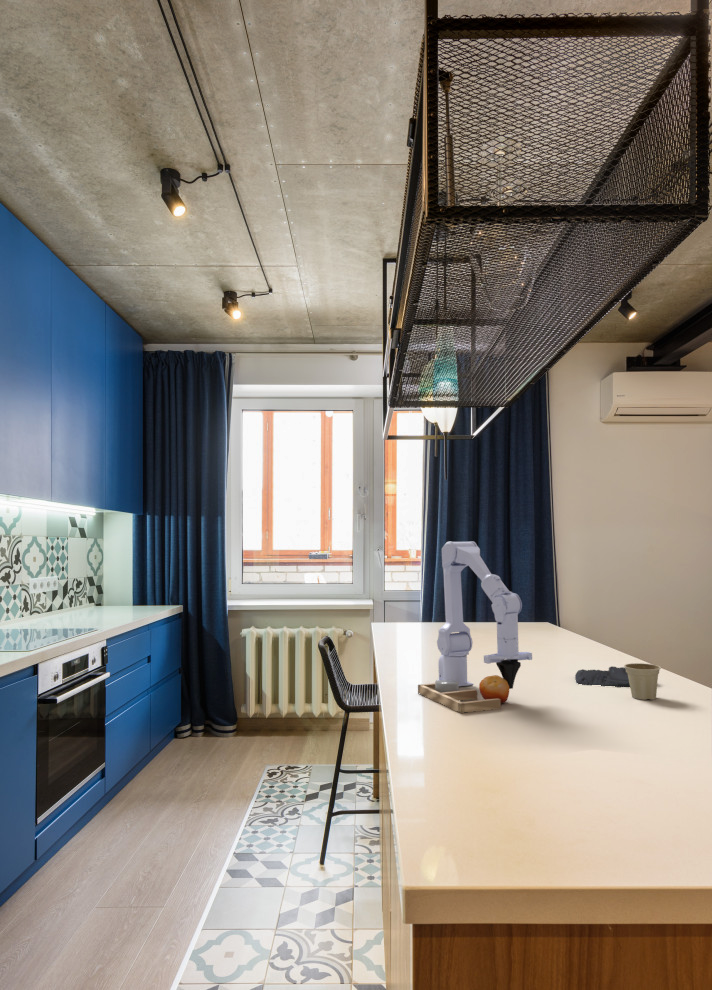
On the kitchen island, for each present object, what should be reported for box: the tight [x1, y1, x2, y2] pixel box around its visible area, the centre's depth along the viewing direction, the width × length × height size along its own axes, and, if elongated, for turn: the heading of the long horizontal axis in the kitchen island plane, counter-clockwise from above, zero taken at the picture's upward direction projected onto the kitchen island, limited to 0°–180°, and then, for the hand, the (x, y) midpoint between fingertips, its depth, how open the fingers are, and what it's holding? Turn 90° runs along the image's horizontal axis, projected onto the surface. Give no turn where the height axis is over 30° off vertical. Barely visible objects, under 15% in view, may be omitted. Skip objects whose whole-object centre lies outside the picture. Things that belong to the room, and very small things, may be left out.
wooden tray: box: [417, 682, 502, 714], centre depth 181 cm, size 24×12×2 cm, turn 21°
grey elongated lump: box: [574, 666, 630, 688], centre depth 203 cm, size 15×22×5 cm
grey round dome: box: [434, 679, 460, 693], centre depth 187 cm, size 7×7×4 cm
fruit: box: [478, 675, 510, 704], centre depth 179 cm, size 8×8×8 cm
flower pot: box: [623, 662, 662, 701], centre depth 183 cm, size 9×9×9 cm
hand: (508, 688), depth 180 cm, fingers closed
